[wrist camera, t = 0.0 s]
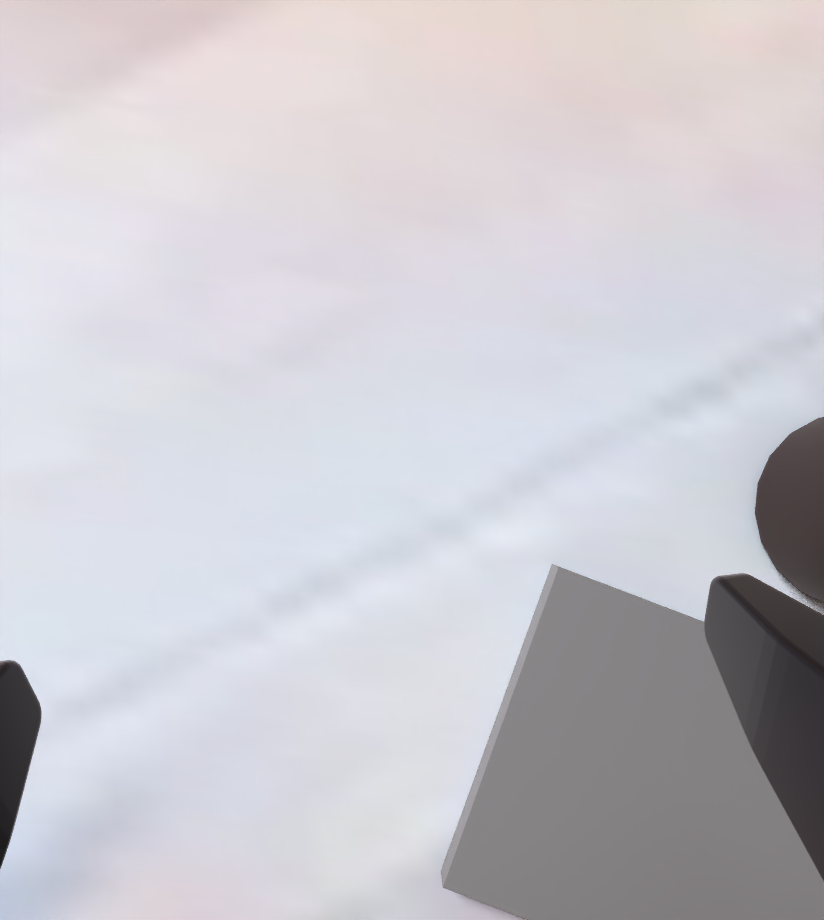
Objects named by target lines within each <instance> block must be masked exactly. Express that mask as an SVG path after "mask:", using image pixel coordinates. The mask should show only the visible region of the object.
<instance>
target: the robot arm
mask: <svg viewBox="0 0 824 920" xmlns="http://www.w3.org/2000/svg"><path fill="white" fill-rule="evenodd" d="M704 632H705V637H706V641H707V643H708V646H709V648H710V651H711V653H712V655H713V658H714V660H715V663H716V665H717V668H718V670H719V672H720V675H721V677H722V680H723V682H724V684H725V687H726V689H727V692H728V694H729V696H730V699H731V701H732V704H733V706H734V709H735V711H736V713H737V716H738V718H739V721H740V723H741V725H742V728H743V730H744V733H745V735H746V737H747V739H748V742H749V744H750V746H751V748H752V750H753V752H754V754H755V756H756V758H757V760H758V762H759V764H760V766H761V768H762V770H763V771H764V773H765V775H766V777H767V779H768V781H769V782H770V784H771V786H772V788H773V790H774V792H775V793H776V795H777V797H778V799H779V801H780V803H781V804H782V806H783V808H784V810H785V812H786V814H787V815H788V817H789V819H790V821H791V823H792V825H793V826H794V828H795V830H796V832H797V834H798V836H799V837H800V839H801V841H802V843H803V845H804V847H805V848H806V850H807V852H808V854H809V856H810V858H811V859H812V861H813V863H814V865H815V867H816V869H817V870H818V872H819V874H820V876H821V878H822V880H823V881H824V615H822V614H821V613H819V612H817V611H815V610H813V609H811V608H809V607H808V606H806V605H804V604H802V603H800V602H798V601H797V600H795V599H793V598H791V597H789V596H787V595H786V594H784V593H782V592H780V591H778V590H776V589H775V588H773V587H771V586H769V585H767V584H765V583H763V582H762V581H760V580H758V579H756V578H754V577H752V576H750V575H748V574H741V573H740V574H732V575H723V576H718V577H716V578H714V579H713V580H712V582H711V585H710V590H709V596H708V602H707V608H706V615H705V621H704ZM40 724H41V707H40V703H39V701H38V699H37V697H36V695H35V693H34V691H33V689H32V687H31V685H30V683H29V681H28V679H27V677H26V675H25V673H24V671H23V669H22V668H21V666H20V665H19V664H18V663H17V662H15V661H11V660H7V661H0V868H1V866H2V863H3V860H4V857H5V854H6V851H7V848H8V845H9V842H10V839H11V836H12V832H13V829H14V825H15V822H16V818H17V814H18V810H19V806H20V802H21V798H22V795H23V791H24V787H25V783H26V779H27V775H28V771H29V767H30V763H31V759H32V755H33V751H34V748H35V744H36V740H37V736H38V732H39V728H40Z"/></svg>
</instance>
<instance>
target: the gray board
mask: <svg viewBox="0 0 824 920" xmlns="http://www.w3.org/2000/svg"><path fill="white" fill-rule="evenodd" d="M441 875H442V884H443V888H446V889H448V890H451V891H453V892H456V893H459V894H461V895H464V896H466V897H469V898H472V899H474V900H477V901H479V902H482V903H484V904H487V905H490V906H492V907H495V908H497V909H500V910H503V911H505V912H508V913H510V914H513V915H516V916H518V917H521V918H523V919H526V920H824V881H823V880H822V878H821V876H820V874H819V872H818V870H817V869H816V867H815V865H814V863H813V861H812V859H811V858H810V856H809V854H808V852H807V850H806V848H805V847H804V845H803V843H802V841H801V839H800V837H799V836H798V834H797V832H796V830H795V828H794V826H793V825H792V823H791V821H790V819H789V817H788V815H787V814H786V812H785V810H784V808H783V806H782V804H781V803H780V801H779V799H778V797H777V795H776V793H775V792H774V790H773V788H772V786H771V784H770V782H769V781H768V779H767V777H766V775H765V773H764V771H763V770H762V768H761V766H760V764H759V762H758V760H757V758H756V756H755V754H754V752H753V750H752V748H751V746H750V744H749V742H748V739H747V737H746V735H745V733H744V730H743V728H742V725H741V723H740V721H739V718H738V716H737V713H736V711H735V709H734V706H733V704H732V701H731V699H730V696H729V694H728V692H727V689H726V687H725V684H724V682H723V680H722V677H721V675H720V672H719V670H718V668H717V665H716V663H715V660H714V658H713V655H712V653H711V651H710V648H709V646H708V643H707V641H706V637H705V632H704V622H703V621H700V620H697V619H695V618H692V617H689V616H687V615H684V614H682V613H679V612H676V611H674V610H671V609H668V608H666V607H663V606H661V605H658V604H655V603H653V602H650V601H647V600H645V599H642V598H640V597H637V596H634V595H632V594H629V593H626V592H624V591H621V590H619V589H616V588H613V587H611V586H608V585H605V584H603V583H600V582H597V581H595V580H592V579H590V578H587V577H584V576H582V575H579V574H576V573H574V572H571V571H569V570H566V569H563V568H561V567H558V566H555V565H553V564H552V566H551V569H550V572H549V574H548V577H547V580H546V583H545V585H544V588H543V591H542V594H541V596H540V599H539V602H538V605H537V607H536V610H535V613H534V616H533V618H532V621H531V624H530V627H529V629H528V632H527V635H526V638H525V641H524V643H523V646H522V649H521V652H520V654H519V657H518V660H517V663H516V665H515V668H514V671H513V674H512V676H511V679H510V682H509V685H508V687H507V690H506V693H505V696H504V699H503V701H502V704H501V707H500V710H499V712H498V715H497V718H496V721H495V723H494V726H493V729H492V732H491V734H490V737H489V740H488V743H487V745H486V748H485V751H484V754H483V757H482V759H481V762H480V765H479V768H478V770H477V773H476V776H475V779H474V781H473V784H472V787H471V790H470V792H469V795H468V798H467V801H466V803H465V806H464V809H463V812H462V814H461V817H460V820H459V823H458V826H457V828H456V831H455V834H454V837H453V839H452V842H451V845H450V848H449V850H448V853H447V856H446V859H445V861H444V864H443V867H442V870H441Z"/></svg>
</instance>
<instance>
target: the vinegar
mask: <svg viewBox="0 0 824 920" xmlns="http://www.w3.org/2000/svg"><path fill="white" fill-rule="evenodd" d="M755 515H756V520H757V525H758V529H759V534H760V539H761V543H762V544H763V546H764V548H765V550H766V551H767V553H768V555H769V557H770V558H771V560H772V562H773V564H774V566H775V567H776V569H777V570H778V571H779V572H780V573H781V574H782V575H784V576H785V577H786V578H787V579H788V580H789V581H790V582H791V583H792V584H793V585H794V586H795V587H796V588H797V589H799V590H800V591H801V592H803V593H805V594H807V595H809V596H811V597H813V598H815V599H817V600H819V601H822V602H824V417H822V418H818V419H816V420H814V421H812V422H810V423H809V424H807V425H805V426H803V427H801V428H800V429H798V430H796V431H794V432H792V433H791V434H790V435H789V436H788V437H787V438H786V439H785V440H784V441H783V442H782V443H781V444H780V446H779V447H778V448H777V449H776V450H775V451H774V452H773V453H772V454H771V455H770V457H769V459H768V461H767V463H766V466H765V468H764V470H763V473H762V475H761V477H760V479H759V482H758V487H757V497H756V507H755Z"/></svg>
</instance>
